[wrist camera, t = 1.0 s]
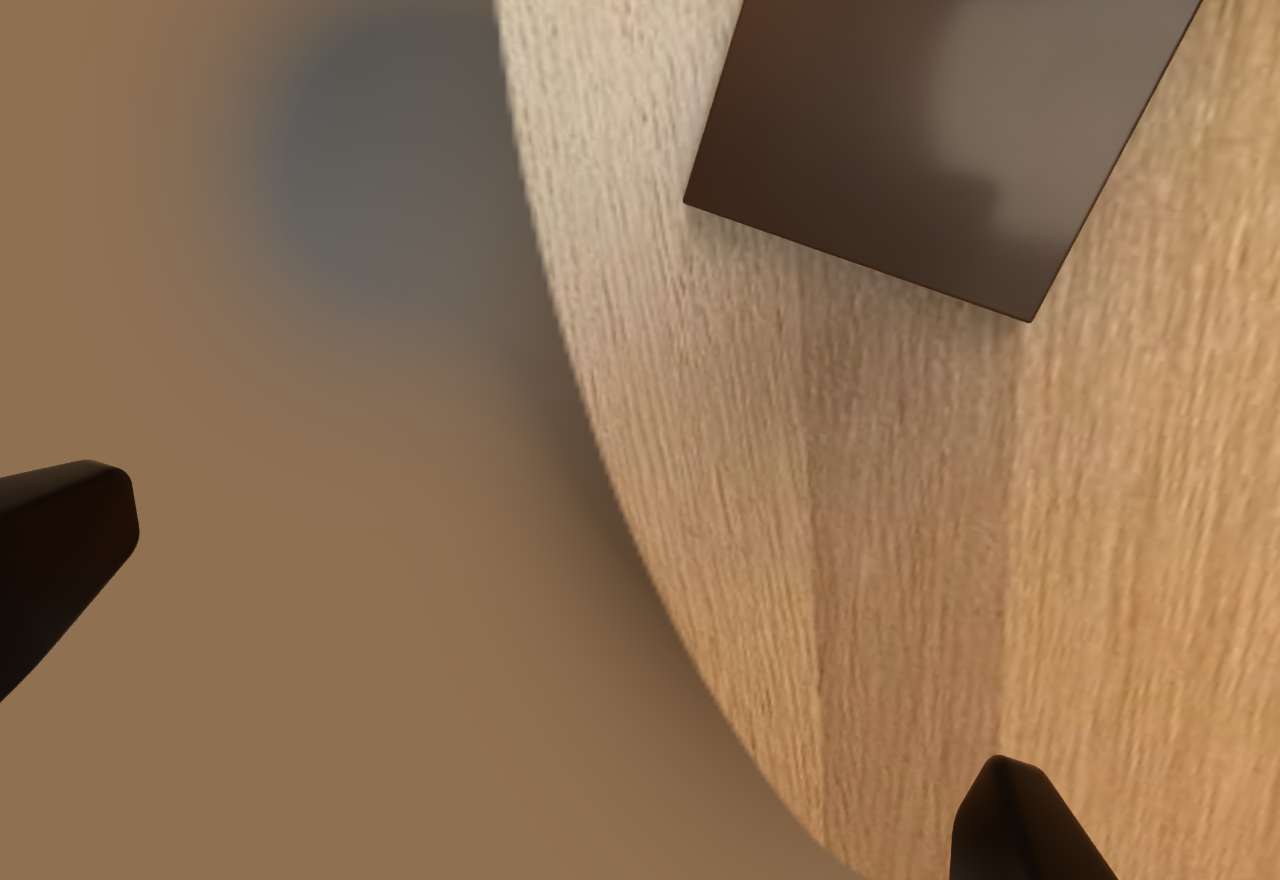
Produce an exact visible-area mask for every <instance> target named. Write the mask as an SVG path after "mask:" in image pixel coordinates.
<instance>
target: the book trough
mask: <svg viewBox="0 0 1280 880" xmlns="http://www.w3.org/2000/svg"><path fill="white" fill-rule="evenodd" d="M1202 1H1203V0H744V1H743V4H742V7H741V11H740V14H739V17H738V20H737V24H736V27H735V30H734V34H733V37H732V40H731V43H730V47H729V50H728V53H727V57H726V60H725V63H724V66H723V70H722V73H721V76H720V79H719V83H718V86H717V89H716V93H715V96H714V99H713V102H712V106H711V109H710V112H709V115H708V119H707V122H706V125H705V129H704V132H703V135H702V138H701V142H700V145H699V148H698V152H697V155H696V158H695V161H694V165H693V168H692V171H691V175H690V178H689V181H688V184H687V188H686V191H685V194H684V197H683V203H684V204H686V205H689V206H692V207H695V208H698V209H701V210H704V211H707V212H709V213H712V214H715V215H718V216H721V217H724V218H727V219H730V220H732V221H735V222H738V223H741V224H744V225H747V226H750V227H753V228H755V229H758V230H761V231H764V232H767V233H770V234H773V235H776V236H778V237H781V238H784V239H787V240H790V241H793V242H796V243H799V244H802V245H804V246H807V247H810V248H813V249H816V250H819V251H822V252H825V253H827V254H830V255H833V256H836V257H839V258H842V259H845V260H848V261H850V262H853V263H856V264H859V265H862V266H865V267H868V268H871V269H873V270H876V271H879V272H882V273H885V274H888V275H891V276H894V277H896V278H899V279H902V280H905V281H908V282H911V283H914V284H917V285H919V286H922V287H925V288H928V289H931V290H934V291H937V292H940V293H942V294H945V295H948V296H951V297H954V298H957V299H960V300H963V301H965V302H968V303H971V304H974V305H977V306H980V307H983V308H986V309H988V310H991V311H994V312H997V313H1000V314H1003V315H1006V316H1009V317H1011V318H1014V319H1017V320H1020V321H1023V322H1026V323H1031V322H1032V321H1033V319H1034V318H1035V316H1036V314H1037V312H1038V310H1039V308H1040V306H1041V304H1042V302H1043V301H1044V299H1045V297H1046V295H1047V293H1048V291H1049V289H1050V287H1051V286H1052V284H1053V282H1054V280H1055V278H1056V276H1057V274H1058V272H1059V270H1060V269H1061V267H1062V265H1063V263H1064V261H1065V259H1066V257H1067V255H1068V254H1069V252H1070V250H1071V248H1072V246H1073V244H1074V242H1075V240H1076V238H1077V237H1078V235H1079V233H1080V231H1081V229H1082V227H1083V225H1084V223H1085V222H1086V220H1087V218H1088V216H1089V214H1090V212H1091V210H1092V208H1093V207H1094V205H1095V203H1096V201H1097V199H1098V197H1099V195H1100V193H1101V191H1102V190H1103V188H1104V186H1105V184H1106V182H1107V180H1108V178H1109V176H1110V175H1111V173H1112V171H1113V169H1114V167H1115V165H1116V163H1117V161H1118V159H1119V158H1120V156H1121V154H1122V152H1123V150H1124V148H1125V146H1126V144H1127V143H1128V141H1129V139H1130V137H1131V135H1132V133H1133V131H1134V129H1135V127H1136V126H1137V124H1138V122H1139V120H1140V118H1141V116H1142V114H1143V112H1144V111H1145V109H1146V107H1147V105H1148V103H1149V101H1150V99H1151V97H1152V95H1153V94H1154V92H1155V90H1156V88H1157V86H1158V84H1159V82H1160V80H1161V79H1162V77H1163V75H1164V73H1165V71H1166V69H1167V67H1168V65H1169V63H1170V62H1171V60H1172V58H1173V56H1174V54H1175V52H1176V50H1177V48H1178V47H1179V45H1180V43H1181V41H1182V39H1183V37H1184V35H1185V33H1186V31H1187V30H1188V28H1189V26H1190V24H1191V22H1192V20H1193V18H1194V16H1195V15H1196V13H1197V11H1198V9H1199V7H1200V5H1201V3H1202Z"/></svg>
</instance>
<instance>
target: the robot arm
mask: <svg viewBox="0 0 1280 880" xmlns="http://www.w3.org/2000/svg"><path fill="white" fill-rule="evenodd" d="M139 534H140V533H139V523H138V518H137V512H136V505H135V499H134V494H133V488H132V482H131V480H130V477H129V476H128V475H127V473H126V472H124V471H123V470H122V469H119V468H116V467H113V466H110V465H107V464H104V463H101V462H98V461H93V460H81V461H75V462H70V463H66V464H62V465H57V466H52V467H48V468H43V469H38V470H34V471H29V472H24V473H20V474H15V475H11V476H6V477H2V478H0V702H2V701H3V699H5V697H6V696H8V694H10V693H11V692H12V691H13V690H14V689H15V688H16V687H17V686H18V685H19V684H20V683H21V682H22V681H23V679H24V678H25V677H26V676H27V675H28V674H29V673H30V672H31V671H32V670H33V669H34V668H35V667H36V666H37V665H38V664H39V663H40V661H41V660H42V659H43V658H44V657H45V656H46V655H47V653H48V652H49V651H50V650H51V649H52V648H53V647H54V645H55V644H56V643H57V642H58V641H59V640H60V638H61V637H62V636H63V635H64V634H65V632H66V631H67V630H68V629H69V628H70V626H71V625H72V624H73V623H74V622H75V621H76V620H77V618H78V617H79V616H80V615H81V614H82V612H83V611H84V610H85V609H86V608H87V606H88V605H89V604H90V603H91V602H92V601H93V599H94V598H95V597H96V596H97V595H98V594H99V592H100V591H101V590H102V589H103V588H104V586H105V585H106V584H107V583H108V581H109V580H110V579H111V578H112V577H113V576H114V575H115V574H116V572H117V571H118V570H119V569H120V568H121V566H122V565H123V564H124V563H125V562H126V560H127V559H128V558H129V557H130V556H131V554H132V553H133V551H134V549H135V547H136V546H137V543H138V540H139ZM949 880H1118V878H1117V877H1116V875H1115V874H1114V873H1113V871H1112V870H1111V868H1110V867H1109V865H1108V864H1107V862H1106V861H1105V860H1104V858H1103V857H1102V855H1101V854H1100V852H1099V851H1098V849H1097V848H1096V846H1095V845H1094V844H1093V842H1092V841H1091V839H1090V838H1089V836H1088V835H1087V833H1086V832H1085V831H1084V829H1083V828H1082V826H1081V825H1080V823H1079V822H1078V820H1077V819H1076V818H1075V816H1074V815H1073V813H1072V812H1071V810H1070V809H1069V807H1068V806H1067V805H1066V803H1065V802H1064V800H1063V799H1062V797H1061V796H1060V794H1059V793H1058V791H1057V790H1056V789H1055V787H1054V786H1053V784H1052V783H1051V781H1050V780H1049V778H1048V777H1047V776H1046V775H1045V773H1044V772H1043V771H1042V770H1040V769H1039V768H1037V767H1036V766H1033V765H1030V764H1027V763H1024V762H1021V761H1018V760H1015V759H1012V758H1009V757H1006V756H1003V755H994V756H992V757H991V758H989V759H988V760H987V761H986V763H985V764H984V766H983V768H982V769H981V771H980V773H979V774H978V776H977V778H976V779H975V781H974V783H973V785H972V786H971V788H970V790H969V791H968V793H967V795H966V796H965V798H964V800H963V801H962V803H961V805H960V807H959V809H958V811H957V814H956V817H955V820H954V825H953V831H952V844H951V860H950V876H949Z"/></svg>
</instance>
